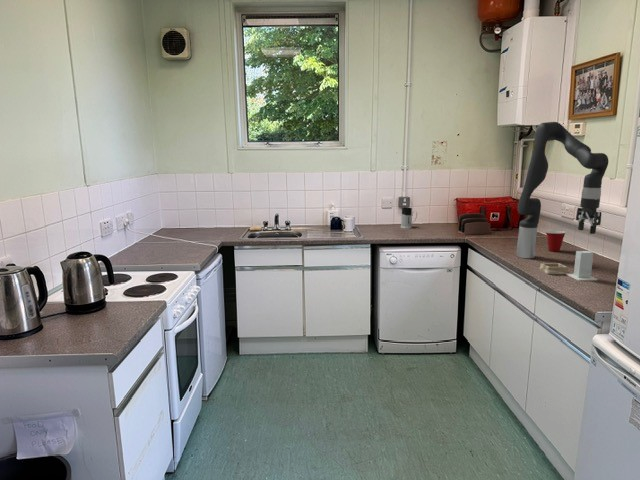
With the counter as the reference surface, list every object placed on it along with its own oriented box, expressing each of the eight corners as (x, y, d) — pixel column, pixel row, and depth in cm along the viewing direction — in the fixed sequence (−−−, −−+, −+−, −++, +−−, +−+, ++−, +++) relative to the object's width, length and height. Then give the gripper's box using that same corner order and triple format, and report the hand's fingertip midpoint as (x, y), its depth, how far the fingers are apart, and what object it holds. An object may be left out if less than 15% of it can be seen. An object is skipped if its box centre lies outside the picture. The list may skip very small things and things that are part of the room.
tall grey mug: (405, 225, 348) (406, 207, 345) (419, 228, 338) (420, 208, 335) (398, 227, 343) (398, 208, 340) (412, 229, 332) (413, 210, 329)
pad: (565, 274, 214) (566, 273, 214) (583, 274, 215) (583, 273, 215) (578, 280, 205) (578, 279, 205) (597, 280, 205) (597, 279, 205)
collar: (539, 270, 223) (540, 263, 222) (558, 269, 223) (558, 263, 222) (547, 274, 215) (548, 267, 215) (567, 273, 216) (567, 267, 215)
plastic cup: (552, 248, 270) (554, 228, 268) (568, 251, 260) (570, 231, 258) (539, 249, 266) (541, 230, 264) (554, 253, 257) (556, 233, 254)
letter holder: (457, 232, 322) (458, 213, 319) (482, 231, 325) (484, 212, 322) (464, 235, 312) (465, 215, 309) (490, 234, 315) (491, 214, 313)
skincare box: (585, 275, 212) (588, 250, 209) (591, 277, 207) (594, 252, 205) (572, 275, 211) (575, 250, 209) (578, 277, 207) (581, 252, 205)
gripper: (573, 195, 209) (569, 229, 212) (593, 199, 195) (588, 235, 199) (588, 195, 209) (584, 228, 213) (609, 199, 195) (604, 234, 199)
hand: (586, 231), depth 206 cm, fingers open, 8 cm apart
